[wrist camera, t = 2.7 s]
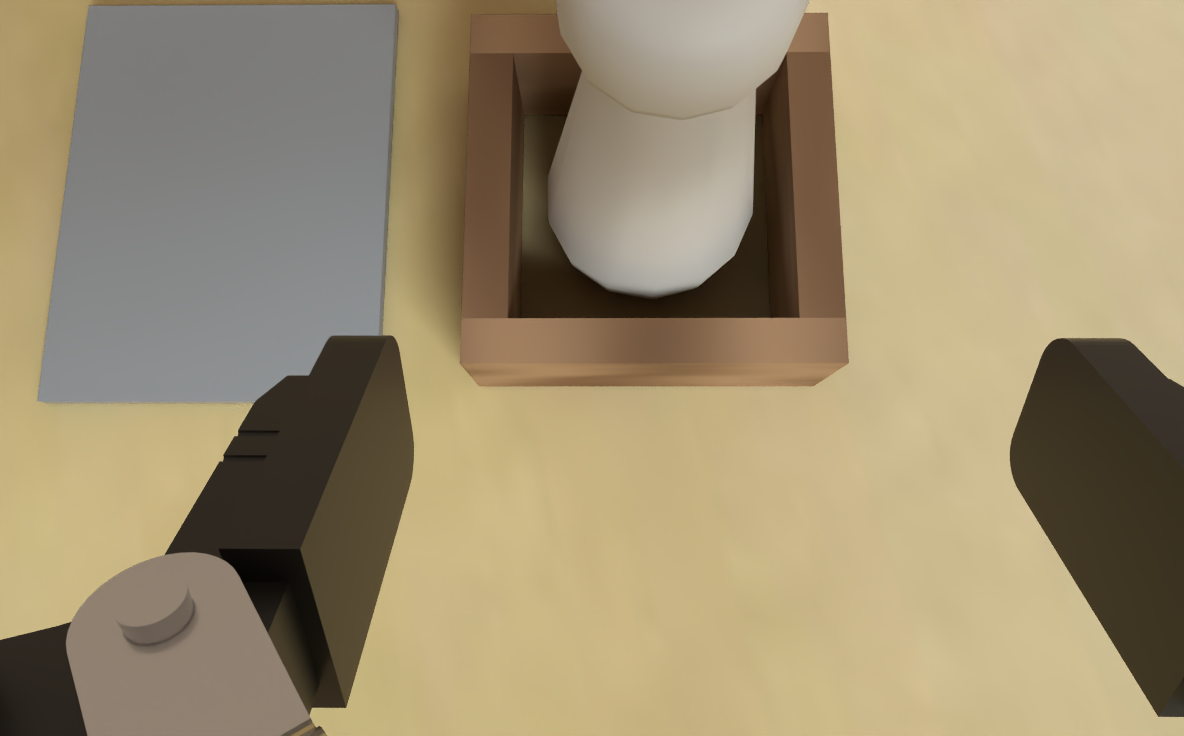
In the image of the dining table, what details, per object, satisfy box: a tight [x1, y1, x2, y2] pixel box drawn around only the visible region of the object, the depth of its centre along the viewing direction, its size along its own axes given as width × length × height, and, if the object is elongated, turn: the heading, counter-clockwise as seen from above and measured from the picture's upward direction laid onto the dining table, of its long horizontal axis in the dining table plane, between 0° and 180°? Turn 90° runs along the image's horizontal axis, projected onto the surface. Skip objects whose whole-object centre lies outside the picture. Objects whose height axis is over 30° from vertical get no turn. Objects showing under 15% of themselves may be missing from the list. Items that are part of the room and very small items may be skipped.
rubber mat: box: [37, 4, 398, 403], centre depth 26 cm, size 10×13×1 cm
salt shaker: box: [547, 0, 809, 299], centre depth 19 cm, size 6×6×13 cm
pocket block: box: [460, 13, 849, 386], centre depth 24 cm, size 10×10×4 cm
